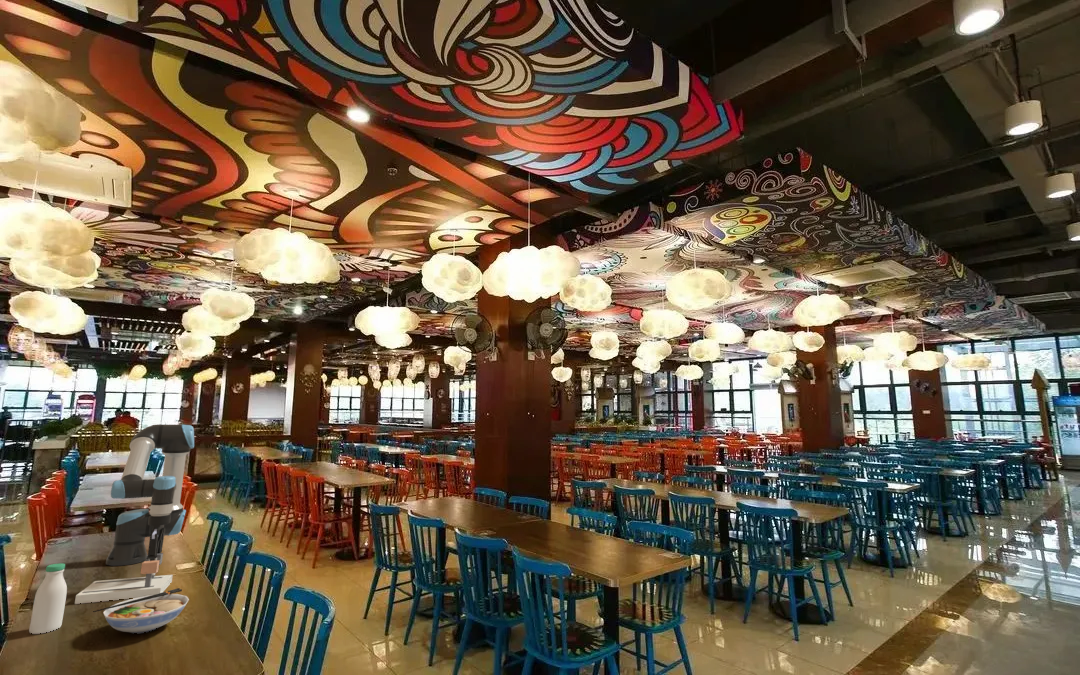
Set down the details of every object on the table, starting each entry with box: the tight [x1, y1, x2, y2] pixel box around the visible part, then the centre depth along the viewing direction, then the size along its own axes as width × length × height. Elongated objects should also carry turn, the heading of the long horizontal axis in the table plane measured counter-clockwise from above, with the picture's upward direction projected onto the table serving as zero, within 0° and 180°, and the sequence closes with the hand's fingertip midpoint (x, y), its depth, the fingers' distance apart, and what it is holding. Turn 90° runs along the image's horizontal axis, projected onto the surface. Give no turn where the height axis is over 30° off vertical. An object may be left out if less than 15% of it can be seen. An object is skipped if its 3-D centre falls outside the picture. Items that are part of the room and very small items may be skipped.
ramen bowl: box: [92, 588, 190, 634], centre depth 168 cm, size 25×23×8 cm
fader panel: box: [74, 574, 173, 605], centre depth 201 cm, size 18×26×3 cm
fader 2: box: [140, 560, 160, 587], centre depth 200 cm, size 3×5×9 cm, turn 114°
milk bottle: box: [28, 562, 68, 635], centre depth 167 cm, size 8×8×20 cm
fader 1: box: [145, 552, 164, 578], centre depth 210 cm, size 3×5×9 cm, turn 113°
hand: (152, 573), depth 210 cm, fingers closed on fader 1, 3 cm apart
